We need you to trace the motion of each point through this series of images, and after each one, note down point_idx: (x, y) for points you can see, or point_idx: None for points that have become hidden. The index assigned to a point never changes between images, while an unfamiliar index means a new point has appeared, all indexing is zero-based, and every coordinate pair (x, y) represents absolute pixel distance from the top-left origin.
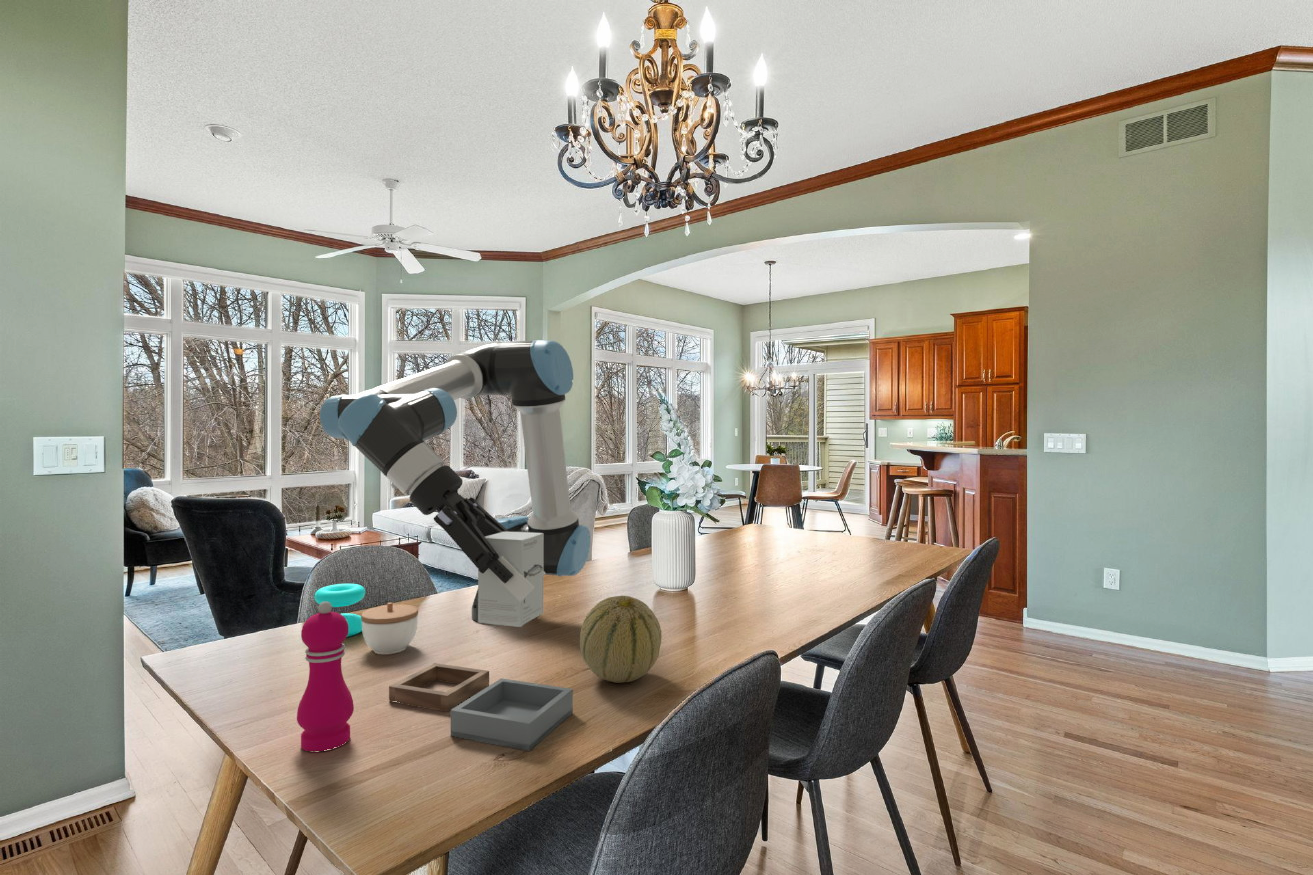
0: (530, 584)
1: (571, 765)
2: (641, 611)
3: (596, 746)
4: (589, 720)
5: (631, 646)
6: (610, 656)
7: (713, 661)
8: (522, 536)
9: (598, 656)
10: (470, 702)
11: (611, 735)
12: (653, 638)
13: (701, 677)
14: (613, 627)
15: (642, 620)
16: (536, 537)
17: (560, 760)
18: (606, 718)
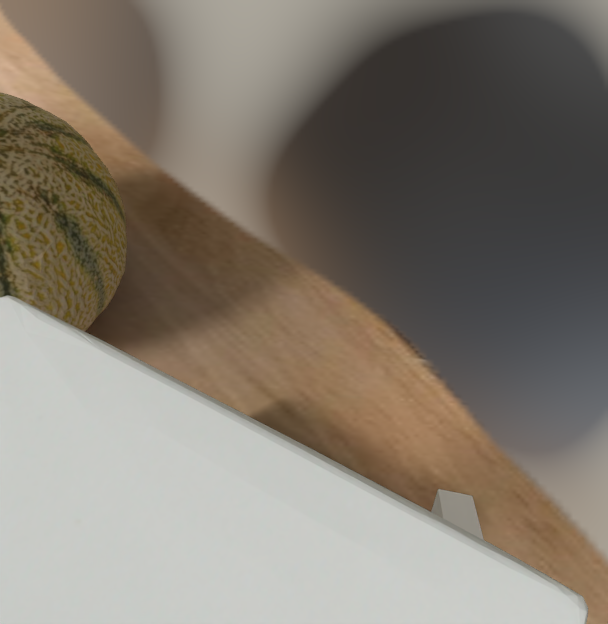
0: (459, 515)
1: (484, 449)
2: (22, 116)
3: (404, 389)
4: (271, 391)
5: (117, 212)
6: (110, 282)
7: (14, 79)
8: (300, 598)
9: (87, 315)
10: None
11: (357, 352)
12: (90, 146)
13: (100, 124)
14: (67, 227)
15: (60, 134)
16: (199, 393)
17: (460, 472)
18: (269, 352)
